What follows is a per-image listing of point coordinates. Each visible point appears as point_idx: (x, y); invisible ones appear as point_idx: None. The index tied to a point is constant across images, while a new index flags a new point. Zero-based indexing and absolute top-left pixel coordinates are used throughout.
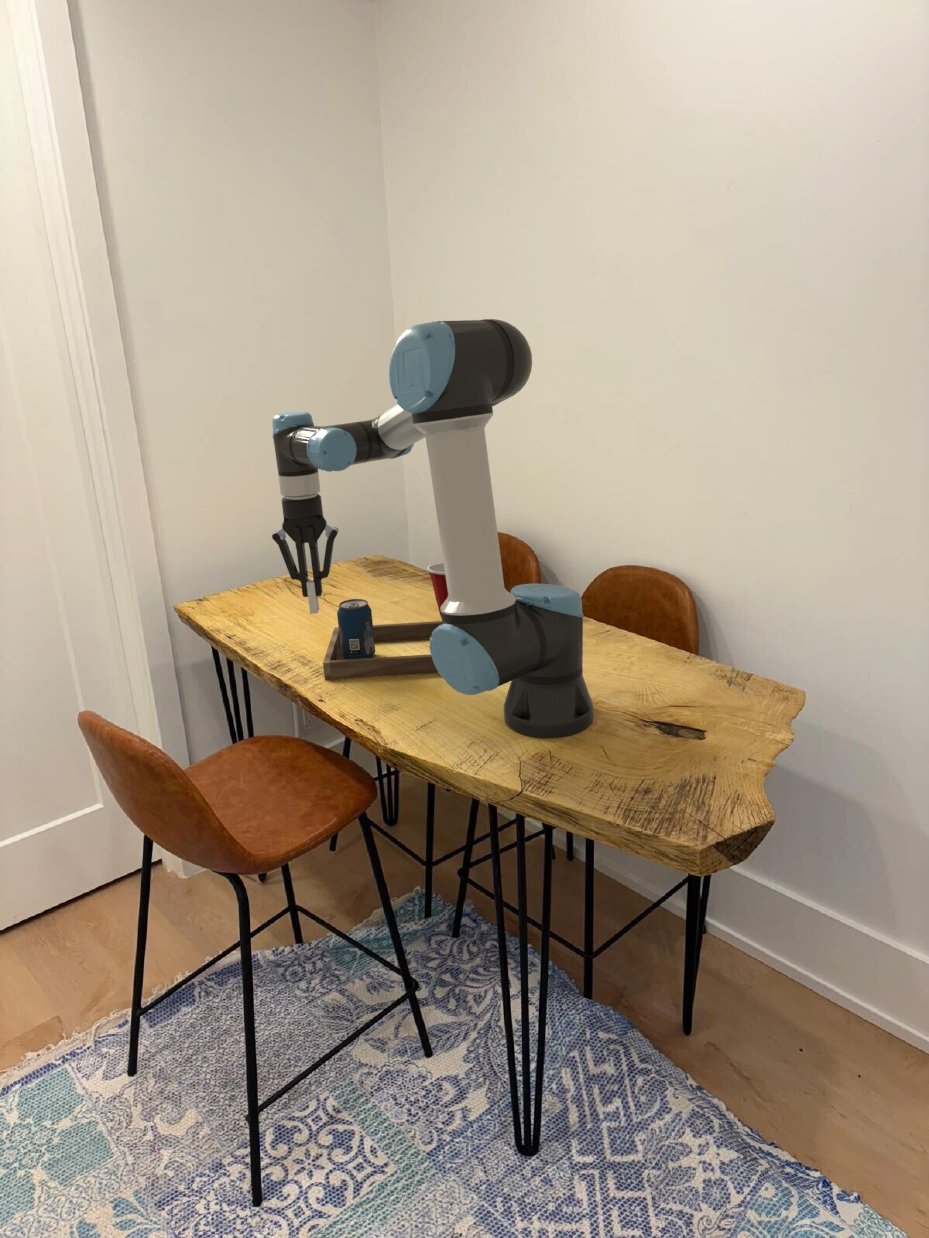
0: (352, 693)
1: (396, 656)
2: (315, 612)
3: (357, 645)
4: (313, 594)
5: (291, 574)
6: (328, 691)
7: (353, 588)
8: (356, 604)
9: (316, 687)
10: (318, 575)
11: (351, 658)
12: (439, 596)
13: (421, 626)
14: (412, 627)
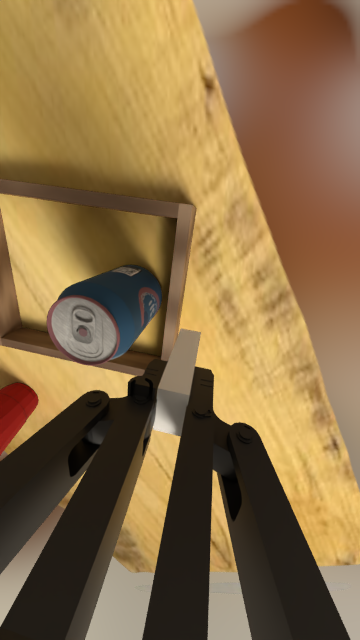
0: (145, 114)
1: (47, 198)
2: (185, 330)
3: (121, 268)
4: (175, 358)
5: (257, 450)
6: (191, 140)
7: (150, 514)
8: (74, 327)
9: (214, 171)
10: (124, 406)
11: (144, 268)
12: (5, 413)
13: (35, 343)
14: (48, 345)
